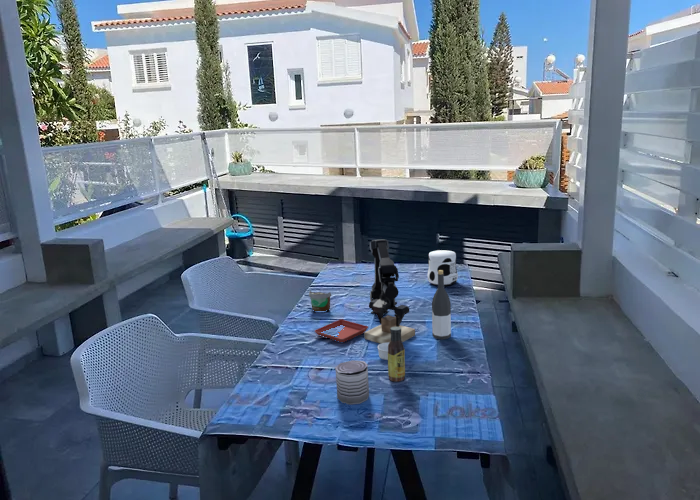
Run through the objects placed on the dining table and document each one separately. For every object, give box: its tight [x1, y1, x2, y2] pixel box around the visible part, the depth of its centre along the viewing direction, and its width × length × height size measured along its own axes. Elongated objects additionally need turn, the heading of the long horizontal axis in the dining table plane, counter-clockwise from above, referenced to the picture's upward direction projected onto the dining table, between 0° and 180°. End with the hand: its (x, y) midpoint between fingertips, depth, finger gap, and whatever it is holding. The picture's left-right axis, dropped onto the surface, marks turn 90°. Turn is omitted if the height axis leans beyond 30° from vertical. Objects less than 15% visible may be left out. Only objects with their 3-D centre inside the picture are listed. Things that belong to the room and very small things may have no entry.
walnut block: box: [380, 314, 397, 334], centre depth 243 cm, size 5×5×6 cm
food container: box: [308, 290, 332, 311], centre depth 281 cm, size 12×6×10 cm, turn 68°
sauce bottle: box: [387, 327, 406, 383], centre depth 202 cm, size 7×6×20 cm
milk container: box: [427, 249, 459, 287], centre depth 316 cm, size 17×17×18 cm
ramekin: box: [377, 342, 389, 361], centre depth 224 cm, size 9×9×4 cm
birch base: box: [363, 324, 416, 344], centre depth 244 cm, size 16×16×3 cm
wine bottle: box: [431, 270, 452, 340], centre depth 239 cm, size 8×8×30 cm
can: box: [334, 359, 370, 405], centre depth 192 cm, size 11×11×12 cm
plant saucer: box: [314, 318, 369, 343], centre depth 250 cm, size 18×18×3 cm
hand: (389, 325), depth 243 cm, fingers open, 9 cm apart
